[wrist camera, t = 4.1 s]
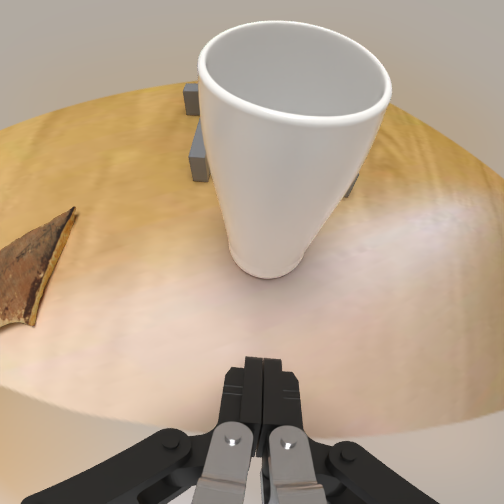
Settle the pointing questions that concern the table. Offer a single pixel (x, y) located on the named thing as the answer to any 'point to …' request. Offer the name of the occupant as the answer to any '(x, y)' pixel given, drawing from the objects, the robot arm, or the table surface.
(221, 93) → the white cup
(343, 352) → the table surface
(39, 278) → the shard
